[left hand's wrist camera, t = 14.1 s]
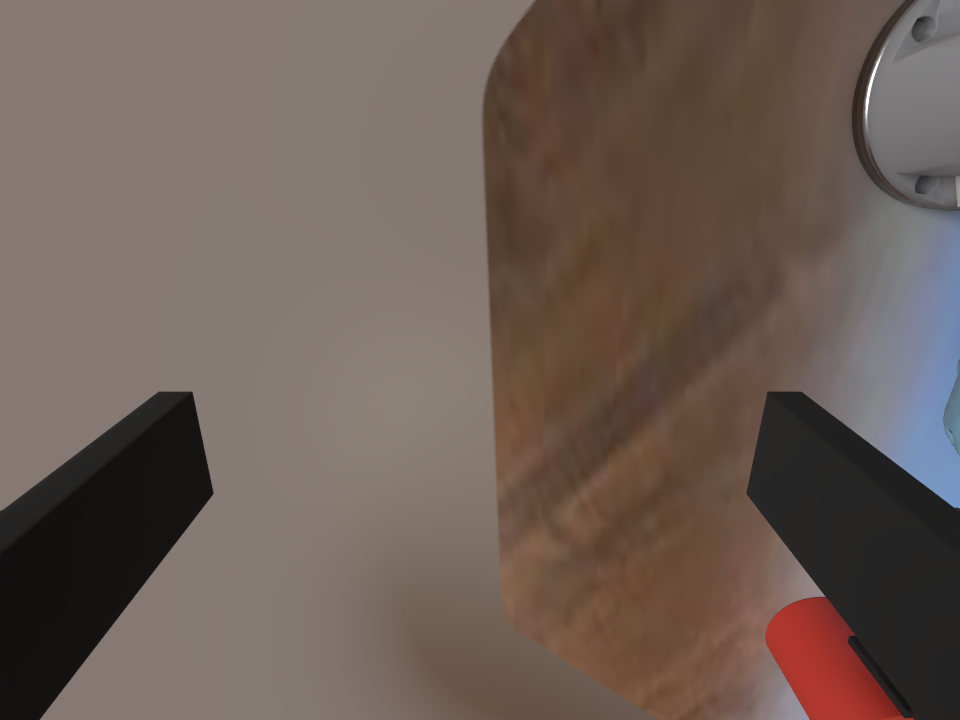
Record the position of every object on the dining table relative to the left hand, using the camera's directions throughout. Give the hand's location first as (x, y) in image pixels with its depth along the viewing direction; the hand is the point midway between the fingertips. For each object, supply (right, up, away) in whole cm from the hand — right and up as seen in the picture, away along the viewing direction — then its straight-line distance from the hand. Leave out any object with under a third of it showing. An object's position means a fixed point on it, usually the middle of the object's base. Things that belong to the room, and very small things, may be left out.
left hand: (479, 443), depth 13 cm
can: (+33, -25, +41) cm, 58 cm away
